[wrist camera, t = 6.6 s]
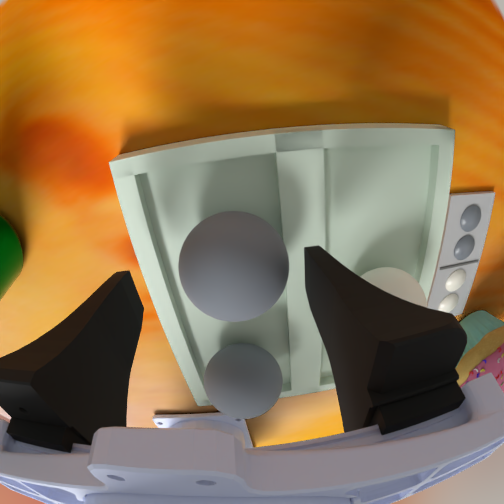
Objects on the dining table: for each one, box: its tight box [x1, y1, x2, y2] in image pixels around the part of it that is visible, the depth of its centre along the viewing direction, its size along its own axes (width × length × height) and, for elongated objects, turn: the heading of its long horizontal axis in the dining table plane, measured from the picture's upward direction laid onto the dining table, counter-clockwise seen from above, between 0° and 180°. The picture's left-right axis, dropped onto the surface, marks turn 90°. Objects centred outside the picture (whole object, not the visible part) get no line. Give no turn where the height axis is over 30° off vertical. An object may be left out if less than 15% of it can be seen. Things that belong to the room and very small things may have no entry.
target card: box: [427, 191, 495, 316], centre depth 18 cm, size 10×4×1 cm, turn 7°
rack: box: [109, 123, 455, 406], centre depth 17 cm, size 18×16×1 cm
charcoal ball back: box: [204, 343, 283, 419], centre depth 17 cm, size 5×5×5 cm
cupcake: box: [455, 310, 504, 393], centre depth 17 cm, size 9×8×12 cm
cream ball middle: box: [360, 267, 427, 307], centre depth 15 cm, size 5×5×5 cm
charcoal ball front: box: [178, 211, 289, 322], centre depth 13 cm, size 5×5×5 cm
